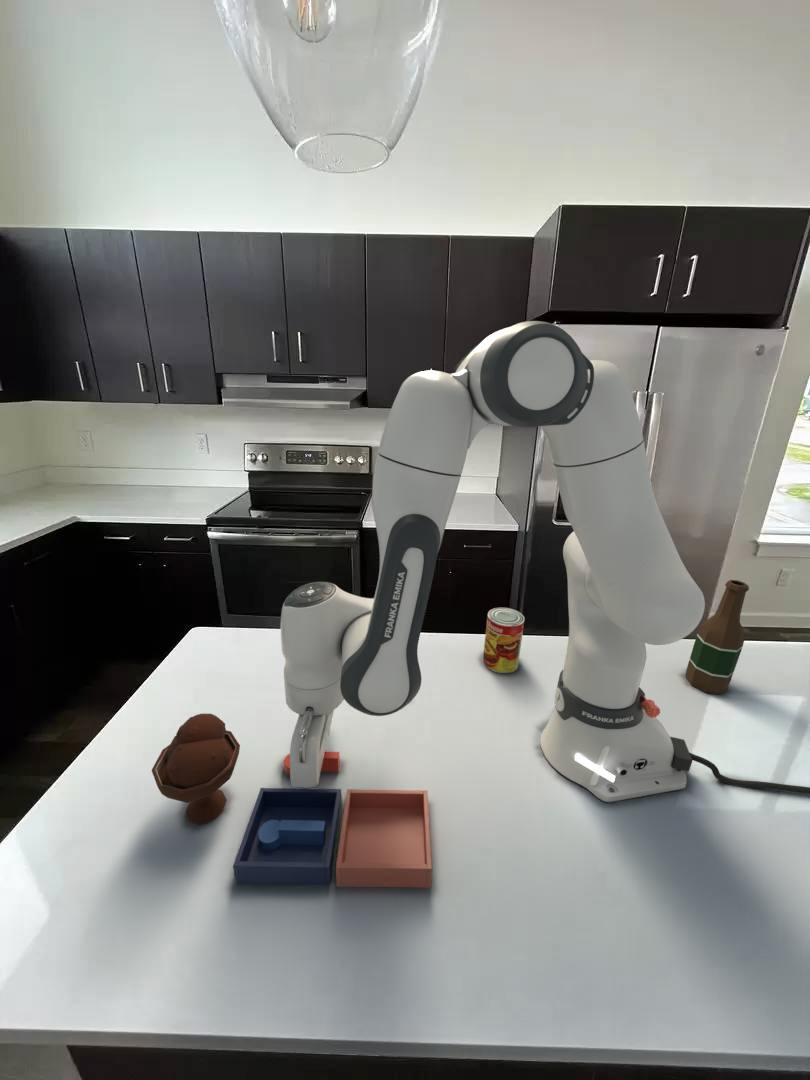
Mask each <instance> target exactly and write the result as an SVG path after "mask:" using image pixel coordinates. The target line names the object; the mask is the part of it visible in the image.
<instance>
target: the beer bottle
mask: <svg viewBox="0 0 810 1080" xmlns="http://www.w3.org/2000/svg"><path fill="white" fill-rule="evenodd" d="M724 586H725V589H724V592H723V594H722V596H721V599H720V602H719V604H718V607H717V609H716V610H715V612H714V614H713V615H712V616H710V617H709V618H708V619H706V620H704V622H703V623H702V624H701V625H700V627H699V629H698V631H697V634H696V637H695V639H694V644H693V646H692V650H691V653H690V656H689V659H688V663H687V667H686V671H685V675H684V677H685V678H686V680H687V681H688V683H689V684H690V686H692V687H694V688H696V689H697V690H699V691H701V692H703V693H706V694H712V695H713V694H714V695H719V696H720V695H722V694H724V692H725V691H726V690H727V689H728V688H729V686H730V684H731V681H732V678H733V676H734V672H735V669H736V667H737V664H738V661H739V659H740V656H741V653H742V650H743V647H744V644H745V639H746V636H745V630H744V628H743V626H742V624H741V613H742V610H743V605H744V601H745V599H746V598H745V597H746V593H747V592H748V591H749V590H750V587H749V585H748V584H747V583H745V582H743V581H742V580H736V579H729V580H727V581H726V583H725V584H724Z"/></svg>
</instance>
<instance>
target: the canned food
mask: <svg viewBox="0 0 810 1080" xmlns="http://www.w3.org/2000/svg"><path fill="white" fill-rule="evenodd" d="M525 619H526V618H525V616H524V615H523V614H522V613H521V612H520V611H518V610H516V609H513V608H510V607H501V606H500V607H494V608H492V609H490V610H489V611H488V612H487V616H486V627H485V637H484V645H483V656H482V662H483V664H484V666H485V667H486V668H487V669H489V670H490V671H493V672H495V673H499V674H510V673H513V672H515V671H516V670H517V669H518V668H519V661H520V655H521V647H522V640H523V632H524V626H525Z"/></svg>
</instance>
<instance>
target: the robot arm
mask: <svg viewBox="0 0 810 1080" xmlns="http://www.w3.org/2000/svg"><path fill="white" fill-rule="evenodd" d="M488 425H495V426H501V427H519V428H537V427H540V429H541V430H542V432H543V434H544V436H545V439H546V440H547V444H548V450H549V454H550V458H551V462H552V467H553V471H554V475H555V479H556V483H557V488H558V491H559V494H560V495H559V496H560V498H561V504H562V507H563V511H564V514H565V518H566V519H567V521H568V523H569V524H570V526H571V528H572V530H573V531H572V532H571V533H570V534H569V535H568V536H567V538H566V540H565V541H564V544H563V546H562V547H563V548H562V557H563V562H564V566H565V570H566V577H567V579H566V580H567V605H568V606H567V608H568V639H567V645H566V650H565V659H564V663H563V669H561V671H560V674H559V675H558V676H559V677H558V681H557V686H556V689H555V694H554V707H553V709H552V713H551V716H550V718H549V721H548V722H547V724H546V726H545V727H544V729H543V730H542V732H541V734H540V743H539V744H540V748H541V751H542V754H543V755H544V757H545V758H546V760H547V762H548V763H549V764H550V765H551V767H553V768H554V769H555V770H556V771H557V772H559V774H561V775H563V776H564V777H565V778H567V779H568V780H570V781H572V782H573V783H576V784H578V785H580V786H582V787H584V788H586V790H587V791H589V792H591V793H592V794H593V795H594V796H595V797H596V798H598V799H600V800H601V801H602V802H605V803H612V802H619V801H624V800H629V799H634V798H639V797H646V796H651V795H657V794H662V793H668V792H672V791H673V792H674V791H677V790H683V789H686V786H687V773H686V772H690V770H691V767H692V765H693V762H696V763H699V764H701V765H703V766H705V767H707V768H709V769H710V770H711V772H712V775H713V777H714V778H715V779H716V780H718V781H720V782H722V783H723V784H727V785H731V786H735V787H742V788H750V789H751V788H752V789H765V790H773V791H780V792H781V791H782V792H788V793H791V792H792V793H799V794H807V795H810V787H809V786H801V785H791V784H784V783H778V782H777V783H776V782H768V781H757V780H743V779H742V780H741V779H734V778H731V777H727V776H725V775H723V774H721V773H720V770H719V769H718V767H717V766H716V764H714V763H713V762H712V761H710V760H708V759H707V758H704V757H702V756H699V755H697V754H694V753H692V752H690V751H689V748H688V746H687V743H686V741H685V739H682V738H678V737H674V736H670V735H669V732H668V731H667V730H666V727H665V726H664V725H663V723H662V722H661V721H660V720H659V719H658V718H657V717H658V716H660V714H661V709H660V708H659V706H658V705H657V704H656V703H655V701H654V700H653V699H647V697H646V693H645V692H644V690H643V689H642V688H641V687H640V685H641V681H642V678H643V673H644V670H645V666H646V662H647V647H646V644H647V645H651V646H666V645H670V644H673V643H677V642H678V641H681V640H683V639H685V638H686V637H688V636H689V635H690V634H691V633H693V632H694V631H695V630H696V628H697V627H698V626H699V624H700V623H701V621H702V620H703V619H702V618H703V616H704V614H705V610H706V608H705V607H706V601H705V600H706V599H705V597H704V593H703V592H702V590H701V588H700V587H699V585H698V584H697V583H696V581H695V580H694V579H693V577H692V576H691V575H690V573H689V571H688V570H687V568H686V566H685V565H684V563H683V561H682V559H681V556H680V554H679V551H678V550H677V548H676V545H675V543H674V540H673V538H672V536H671V534H670V532H669V529H668V527H667V524H666V522H665V520H664V518H663V515H662V513H661V511H660V508H659V505H658V502H657V499H656V497H655V493H654V488H653V483H652V479H651V475H650V469H649V462H648V456H647V452H646V447H645V440H644V434H643V430H642V424H641V420H640V417H639V413H638V408H637V406H636V403H635V399H634V397H633V394H632V391H631V389H630V386H629V384H628V381H627V379H626V377H625V375H624V372H623V371H622V369H621V368H620V367H619V366H618V365H617V364H615V363H614V362H611V361H609V360H603V359H591V360H590V359H589V358H588V357H587V356H585V354H584V353H583V352H582V350H581V348H580V346H579V344H577V342H576V341H575V339H574V338H573V337H572V336H571V335H570V334H569V333H568V332H566V331H565V330H564V329H563V328H561V327H560V326H558V325H556V324H553V323H551V322H547V321H540V320H528V321H522V322H518V323H516V324H514V325H513V324H512V325H511V326H508V327H505V328H504V327H503V328H502V329H499V330H497V331H494V332H492V334H489V335H488V336H486V337H485V338H484V339H483V340H482V341H481V342H480V343H478V344H477V345H475V346H474V347H473V348H471V349H469V351H468V352H467V353H466V354H465V355H464V356H463V357H462V359H461V360H459V362H458V363H457V364H456V365H455V367H454V368H453V369H451V370H450V372H449V373H448V372H444V371H440V370H424V371H419V372H416V373H413V374H411V375H410V376H408V377H407V378H406V379H405V380H404V381H403V382H402V384H401V385H400V387H399V390H398V392H397V394H396V397H395V398H394V400H393V404H392V406H391V409H390V411H389V414H388V417H387V419H386V422H385V425H384V429H383V432H382V435H381V439H380V442H379V447H378V450H377V455H376V460H375V465H374V470H373V477H372V489H371V491H372V492H371V493H372V495H371V506H372V513H373V518H374V523H375V528H376V535H377V540H378V549H379V551H378V552H379V571H378V579H377V584H376V588H375V591H374V593H375V594H374V596H373V597H364V596H363V597H362V596H359V595H356V594H352V593H349V592H347V591H345V590H343V589H341V588H340V587H338V585H336V584H335V583H333V582H328V581H314V582H309V583H306V584H302V585H300V586H299V587H297V588H296V589H294V590H292V592H290V593H289V594H288V596H287V597H286V598H285V600H284V602H283V604H282V607H281V611H280V612H281V613H280V646H281V653H282V655H283V658H284V661H285V663H284V667H283V683H284V696H285V703H286V706H287V707H288V708H289V709H290V710H291V711H292V712H293V713H295V714H297V715H298V717H297V720H296V723H295V725H294V730H293V733H292V736H291V741H290V747H289V748H290V749H289V754H290V775H289V776H290V784H291V786H292V787H293V788H300V789H311V788H315V787H318V786H319V782H320V777H321V772H322V771H321V768H322V763H323V758H324V754H325V751H326V749H327V744H328V740H329V736H330V732H331V725H332V721H333V718H334V717H333V716H334V713H335V710H336V709H337V708H338V707H340V705H341V704H342V703H343V702H344V701H345V702H346V703H347V704H348V705H349V706H350V707H351V708H353V709H354V710H356V711H359V712H360V713H362V714H365V715H368V716H373V717H384V716H388V715H392V714H395V713H398V712H399V711H401V710H402V709H404V708H406V706H407V705H408V704H410V703H411V702H412V701H413V700H414V699H415V698H416V696H417V695H418V693H419V691H420V689H421V686H422V672H421V668H420V663H419V657H418V647H419V641H420V638H421V637H420V636H421V631H422V627H423V623H424V619H425V615H426V610H427V606H428V602H429V597H430V592H431V589H432V583H433V580H434V574H435V568H436V564H437V559H438V555H439V552H440V548H441V545H442V542H443V537H444V533H445V530H446V526H447V522H448V518H449V516H450V513H451V510H452V507H453V503H454V500H455V496H456V493H457V490H458V488H459V485H460V482H461V481H460V480H461V477H462V474H463V470H464V466H465V463H466V458H467V455H468V450H469V449H470V447H471V445H472V443H473V442H474V439H475V438H476V437H477V435H478V434H479V433H480V432H481V431H482V430H483V429H484V428H485V427H487V426H488Z"/></svg>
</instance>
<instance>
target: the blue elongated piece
mask: <svg viewBox="0 0 810 1080" xmlns="http://www.w3.org/2000/svg"><path fill="white" fill-rule="evenodd" d="M258 839H259V845H260V847H261V849H263V850H265V851H272V850H275V849H276V848H278V847H279V846H280V845H281V844H282V845H324V844H325V839H326V824H325V821H306V820H281V822H279V821H278V820H269V821H267V822H265V823H264V824H263V825H262V826H261V827H260V829H259V832H258Z"/></svg>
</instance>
